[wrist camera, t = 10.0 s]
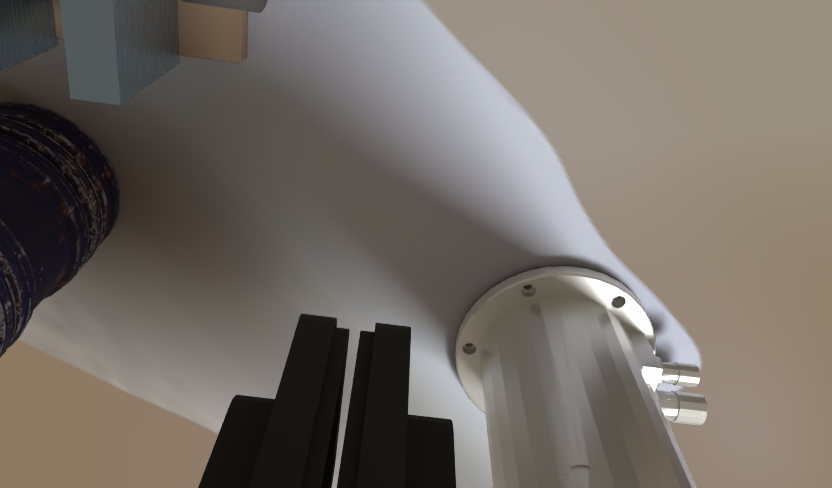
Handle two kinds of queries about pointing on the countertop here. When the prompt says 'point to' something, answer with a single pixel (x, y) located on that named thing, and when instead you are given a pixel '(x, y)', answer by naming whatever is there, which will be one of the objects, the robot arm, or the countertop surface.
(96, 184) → the storage jar
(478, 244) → the countertop surface
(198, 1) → the shaft
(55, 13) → the base plate
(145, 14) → the bearing blocks
